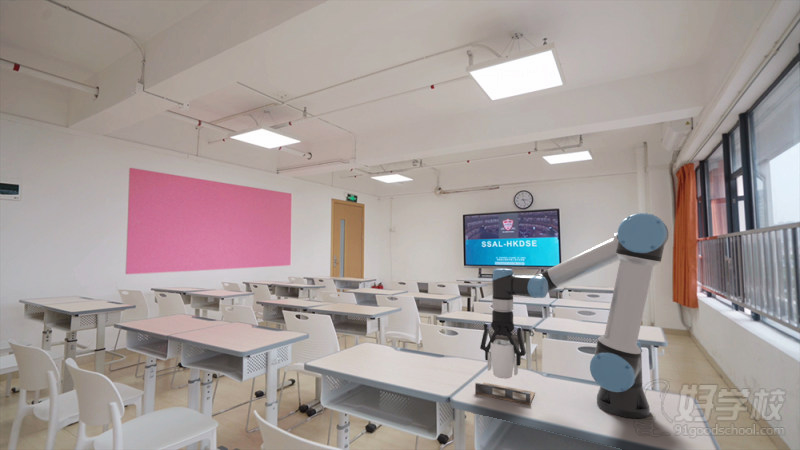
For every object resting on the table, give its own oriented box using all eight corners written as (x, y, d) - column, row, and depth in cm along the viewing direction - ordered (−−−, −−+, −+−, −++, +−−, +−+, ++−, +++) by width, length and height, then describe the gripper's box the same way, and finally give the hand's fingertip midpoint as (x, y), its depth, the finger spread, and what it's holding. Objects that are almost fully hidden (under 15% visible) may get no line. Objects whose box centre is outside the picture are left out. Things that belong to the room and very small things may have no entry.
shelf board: (534, 393, 133) (534, 383, 134) (529, 405, 124) (529, 394, 124) (483, 383, 142) (483, 374, 143) (475, 393, 133) (475, 383, 133)
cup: (490, 378, 131) (490, 344, 132) (489, 370, 140) (489, 338, 141) (516, 381, 130) (516, 346, 130) (514, 372, 138) (514, 340, 139)
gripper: (534, 311, 134) (534, 374, 133) (477, 306, 145) (476, 363, 143) (531, 314, 128) (531, 380, 127) (471, 308, 138) (471, 369, 137)
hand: (502, 371), depth 135 cm, fingers closed on cup, 9 cm apart
